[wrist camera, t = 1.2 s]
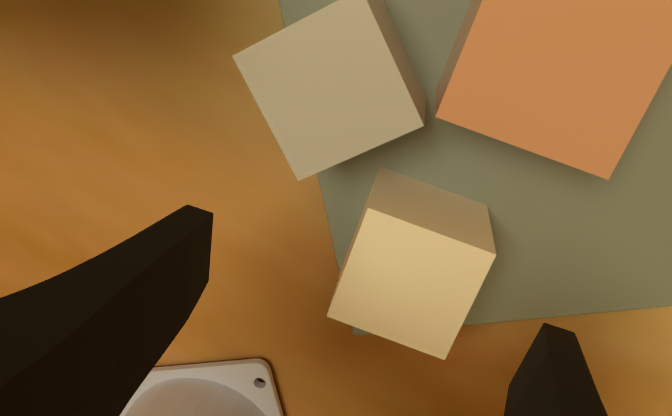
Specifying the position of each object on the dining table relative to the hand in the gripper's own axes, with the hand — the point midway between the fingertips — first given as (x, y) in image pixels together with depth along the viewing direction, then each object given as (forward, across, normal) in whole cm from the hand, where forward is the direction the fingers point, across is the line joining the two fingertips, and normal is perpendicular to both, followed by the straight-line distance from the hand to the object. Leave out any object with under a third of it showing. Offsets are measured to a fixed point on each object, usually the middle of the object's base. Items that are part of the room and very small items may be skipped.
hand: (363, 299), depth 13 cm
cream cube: (+9, -1, +5) cm, 10 cm away
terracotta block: (+11, -3, -3) cm, 11 cm away
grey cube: (+10, +3, 0) cm, 10 cm away
